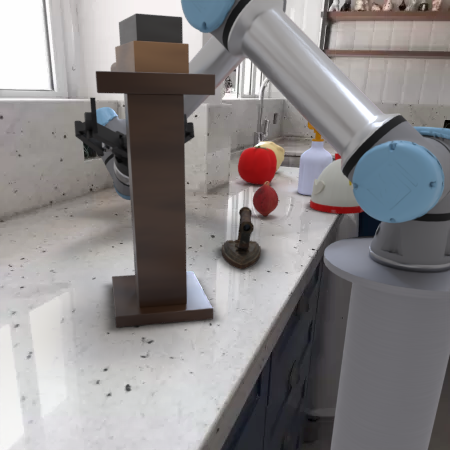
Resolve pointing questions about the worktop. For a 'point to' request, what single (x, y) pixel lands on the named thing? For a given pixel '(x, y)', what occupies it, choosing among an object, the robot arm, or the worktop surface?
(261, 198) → the onion
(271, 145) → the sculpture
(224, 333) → the worktop surface
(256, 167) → the tomato
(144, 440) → the worktop surface
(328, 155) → the soap bottle
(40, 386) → the worktop surface
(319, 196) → the kitchen timer
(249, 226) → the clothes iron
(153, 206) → the stand
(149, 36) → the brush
